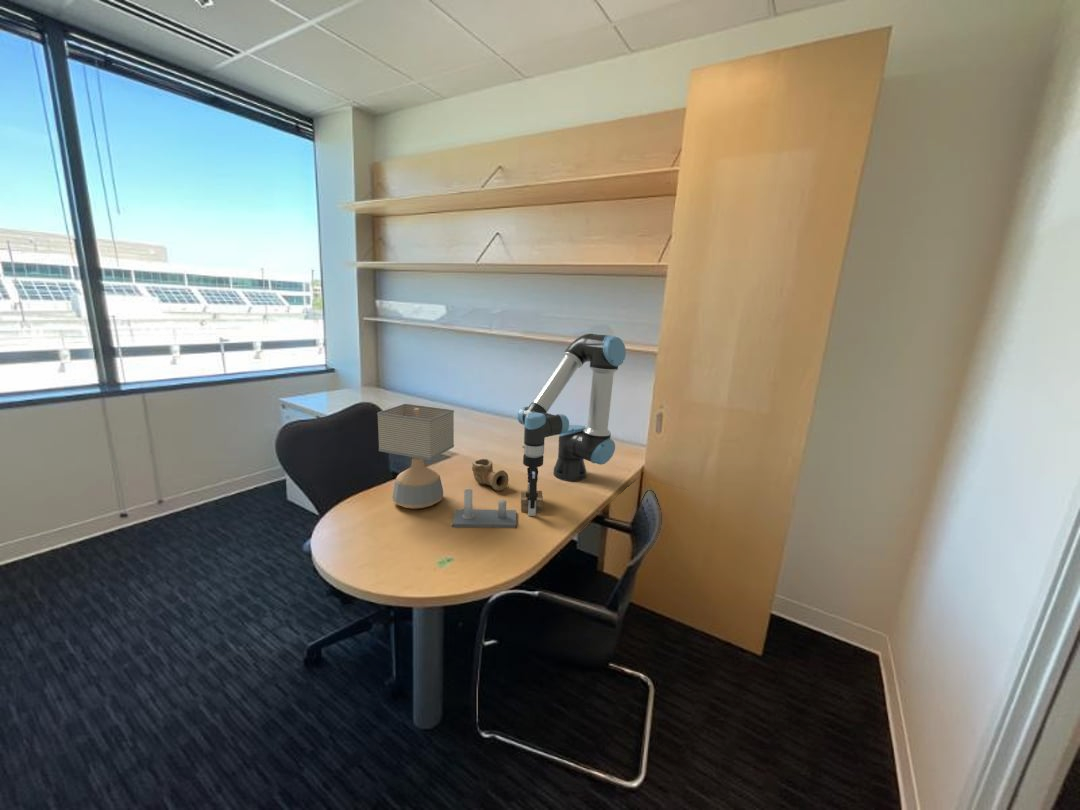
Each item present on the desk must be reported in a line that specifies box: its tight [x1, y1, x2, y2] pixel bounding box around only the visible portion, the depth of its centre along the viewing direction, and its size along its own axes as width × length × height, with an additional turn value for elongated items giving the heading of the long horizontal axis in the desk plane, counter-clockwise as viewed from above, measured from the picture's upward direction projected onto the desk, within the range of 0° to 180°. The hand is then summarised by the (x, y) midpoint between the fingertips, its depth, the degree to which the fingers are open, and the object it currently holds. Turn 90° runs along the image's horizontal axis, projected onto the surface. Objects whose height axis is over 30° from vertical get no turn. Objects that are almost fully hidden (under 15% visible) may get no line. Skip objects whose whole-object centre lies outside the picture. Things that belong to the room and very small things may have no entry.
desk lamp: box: [376, 403, 455, 510], centre depth 162 cm, size 22×19×37 cm
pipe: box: [471, 458, 509, 491], centre depth 182 cm, size 9×16×10 cm, turn 52°
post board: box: [451, 488, 517, 528], centre depth 153 cm, size 22×11×11 cm, turn 93°
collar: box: [520, 490, 544, 513], centre depth 164 cm, size 8×8×5 cm
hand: (531, 507), depth 165 cm, fingers open, 13 cm apart
